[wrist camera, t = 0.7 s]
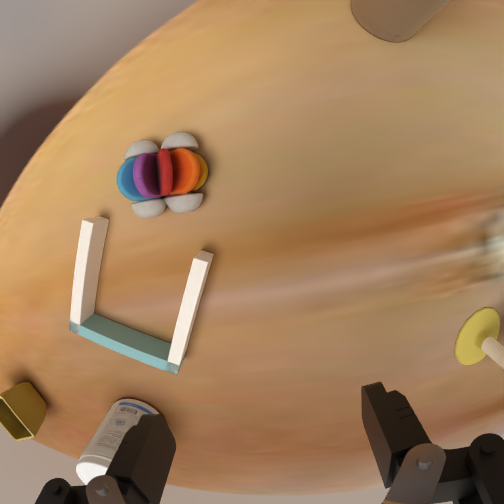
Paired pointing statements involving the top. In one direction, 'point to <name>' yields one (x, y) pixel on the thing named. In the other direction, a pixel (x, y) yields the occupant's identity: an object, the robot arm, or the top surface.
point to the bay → (115, 333)
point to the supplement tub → (110, 437)
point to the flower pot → (22, 411)
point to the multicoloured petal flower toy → (163, 175)
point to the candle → (480, 338)
